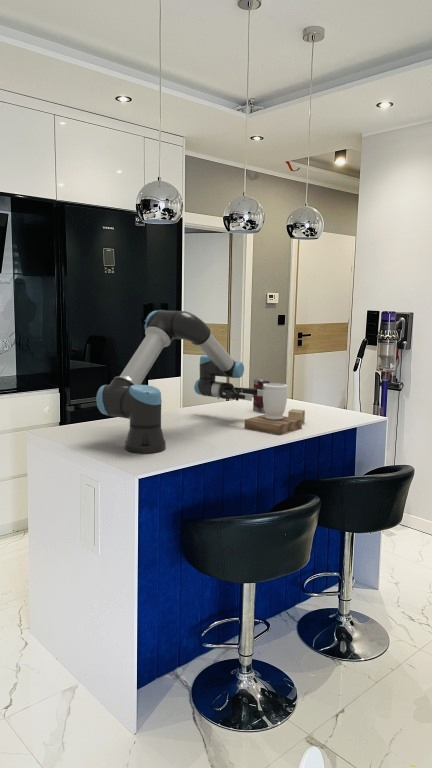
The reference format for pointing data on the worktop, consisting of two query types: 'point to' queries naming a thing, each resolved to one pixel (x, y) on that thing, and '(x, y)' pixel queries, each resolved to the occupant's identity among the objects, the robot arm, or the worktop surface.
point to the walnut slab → (273, 424)
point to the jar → (274, 400)
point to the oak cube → (297, 414)
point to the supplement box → (258, 400)
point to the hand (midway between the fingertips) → (260, 395)
